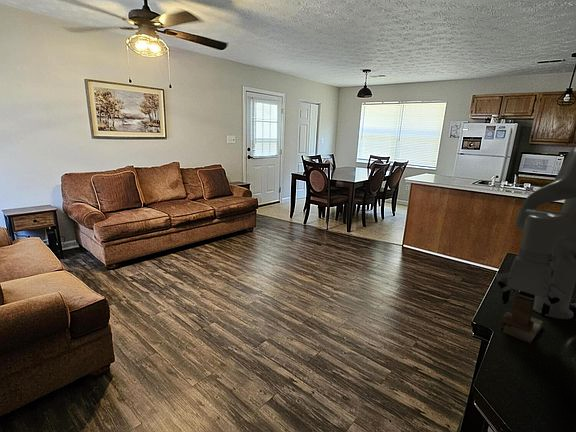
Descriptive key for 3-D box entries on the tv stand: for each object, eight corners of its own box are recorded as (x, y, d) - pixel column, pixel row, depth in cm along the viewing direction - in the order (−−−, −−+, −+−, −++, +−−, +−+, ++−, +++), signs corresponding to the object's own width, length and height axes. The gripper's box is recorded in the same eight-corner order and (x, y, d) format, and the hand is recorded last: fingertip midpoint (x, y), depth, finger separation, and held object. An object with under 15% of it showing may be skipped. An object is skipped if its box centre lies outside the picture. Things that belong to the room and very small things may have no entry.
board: (516, 317, 107) (517, 312, 106) (541, 326, 102) (543, 321, 101) (502, 332, 98) (503, 326, 97) (530, 343, 93) (531, 337, 92)
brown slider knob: (504, 322, 103) (510, 291, 100) (531, 332, 97) (539, 300, 95) (500, 326, 100) (506, 295, 98) (528, 337, 95) (535, 304, 92)
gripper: (575, 261, 89) (562, 316, 93) (504, 246, 102) (496, 294, 106) (570, 268, 84) (557, 325, 88) (496, 251, 97) (488, 301, 101)
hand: (523, 308), depth 97 cm, fingers open, 9 cm apart
